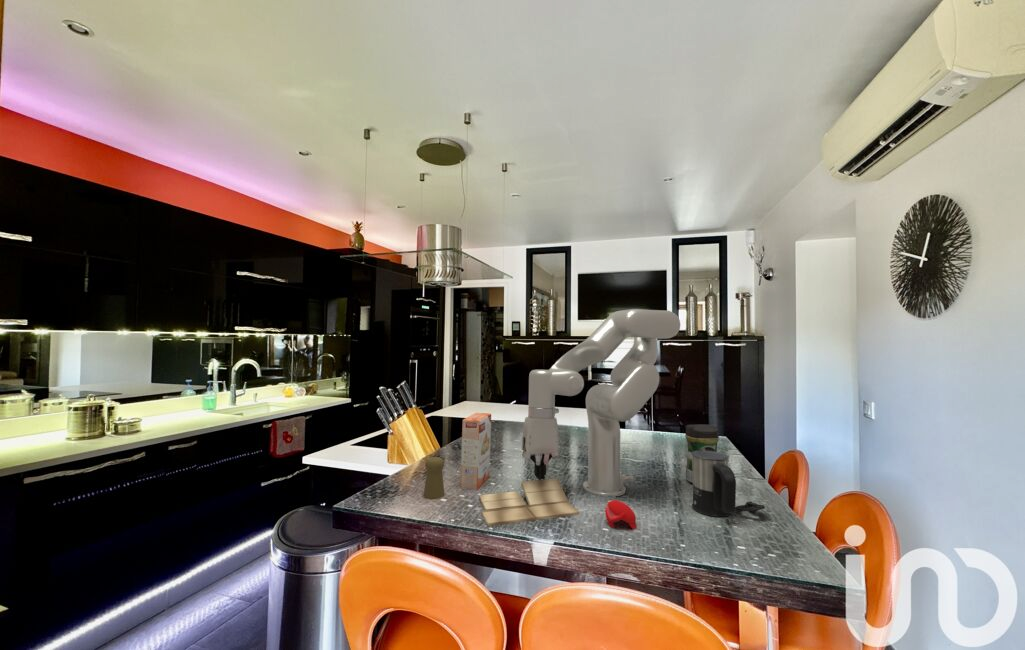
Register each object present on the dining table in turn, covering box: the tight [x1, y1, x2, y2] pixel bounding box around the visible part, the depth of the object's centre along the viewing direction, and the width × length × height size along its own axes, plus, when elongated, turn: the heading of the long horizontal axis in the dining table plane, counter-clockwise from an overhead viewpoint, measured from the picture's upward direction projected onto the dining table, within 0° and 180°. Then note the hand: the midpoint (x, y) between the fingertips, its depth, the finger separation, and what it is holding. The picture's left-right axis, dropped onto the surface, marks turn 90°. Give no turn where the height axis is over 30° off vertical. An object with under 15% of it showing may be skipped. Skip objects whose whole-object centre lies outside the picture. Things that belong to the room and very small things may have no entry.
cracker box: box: [459, 412, 492, 491], centre depth 126 cm, size 14×6×21 cm, turn 168°
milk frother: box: [691, 451, 766, 517], centre depth 107 cm, size 14×16×15 cm
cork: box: [423, 456, 445, 500], centre depth 114 cm, size 6×6×11 cm
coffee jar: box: [684, 423, 720, 485], centre depth 129 cm, size 10×8×19 cm
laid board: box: [480, 500, 580, 527], centre depth 102 cm, size 24×7×1 cm, turn 108°
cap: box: [604, 499, 638, 530], centre depth 97 cm, size 8×6×6 cm
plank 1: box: [478, 491, 527, 511], centre depth 109 cm, size 11×8×1 cm
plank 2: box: [520, 477, 569, 506], centre depth 112 cm, size 11×8×1 cm
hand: (540, 477), depth 114 cm, fingers closed
